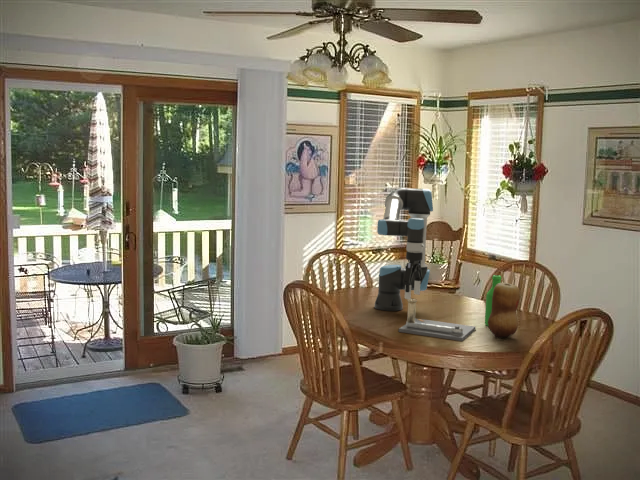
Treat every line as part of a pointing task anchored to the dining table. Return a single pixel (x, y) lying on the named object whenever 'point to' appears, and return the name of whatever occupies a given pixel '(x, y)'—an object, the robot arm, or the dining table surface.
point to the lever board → (440, 334)
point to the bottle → (489, 297)
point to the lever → (412, 323)
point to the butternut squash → (504, 310)
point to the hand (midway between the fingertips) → (412, 296)
